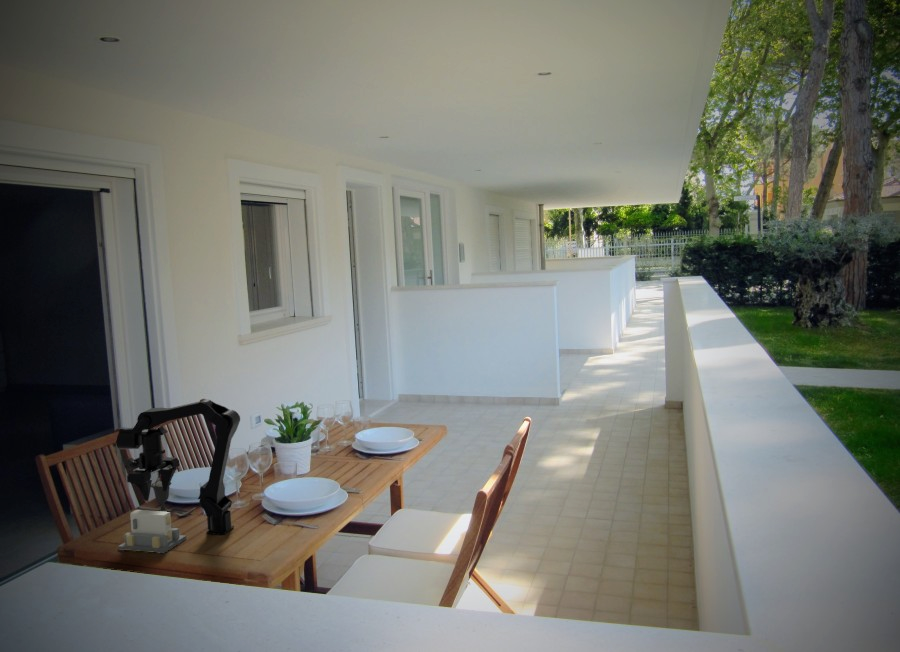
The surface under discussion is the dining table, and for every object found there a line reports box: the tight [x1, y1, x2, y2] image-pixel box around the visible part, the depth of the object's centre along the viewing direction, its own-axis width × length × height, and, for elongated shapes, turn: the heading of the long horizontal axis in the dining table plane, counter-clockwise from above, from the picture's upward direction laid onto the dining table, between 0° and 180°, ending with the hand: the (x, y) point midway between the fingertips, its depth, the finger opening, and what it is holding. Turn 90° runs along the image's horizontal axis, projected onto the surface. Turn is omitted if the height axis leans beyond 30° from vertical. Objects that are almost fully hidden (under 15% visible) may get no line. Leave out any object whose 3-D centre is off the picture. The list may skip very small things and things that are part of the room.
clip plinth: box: [117, 527, 187, 554], centre depth 215 cm, size 16×11×4 cm
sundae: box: [151, 475, 172, 512], centre depth 243 cm, size 7×7×15 cm
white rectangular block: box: [129, 509, 173, 543], centre depth 215 cm, size 13×4×9 cm, turn 76°
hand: (155, 495), depth 225 cm, fingers open, 9 cm apart
